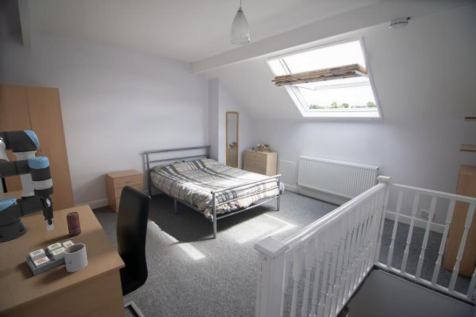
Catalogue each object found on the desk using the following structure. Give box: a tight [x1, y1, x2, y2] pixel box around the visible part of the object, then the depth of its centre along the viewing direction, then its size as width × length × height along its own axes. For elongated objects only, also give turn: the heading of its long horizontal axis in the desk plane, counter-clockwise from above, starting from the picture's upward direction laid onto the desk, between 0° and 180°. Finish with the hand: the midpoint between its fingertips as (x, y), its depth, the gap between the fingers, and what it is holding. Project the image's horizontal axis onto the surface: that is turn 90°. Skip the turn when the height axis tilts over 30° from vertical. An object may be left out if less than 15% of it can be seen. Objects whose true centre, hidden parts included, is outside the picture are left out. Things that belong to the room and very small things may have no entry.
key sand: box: [52, 247, 65, 260], centre depth 114 cm, size 5×5×3 cm
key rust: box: [34, 256, 50, 268], centre depth 109 cm, size 5×5×3 cm
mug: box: [64, 243, 89, 273], centre depth 110 cm, size 12×9×10 cm
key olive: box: [47, 242, 62, 255], centre depth 118 cm, size 5×5×3 cm
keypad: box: [24, 238, 77, 277], centre depth 116 cm, size 17×20×3 cm
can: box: [65, 211, 82, 237], centre depth 137 cm, size 6×6×14 cm
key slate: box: [28, 248, 46, 262], centre depth 113 cm, size 5×5×3 cm
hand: (50, 229), depth 115 cm, fingers closed
